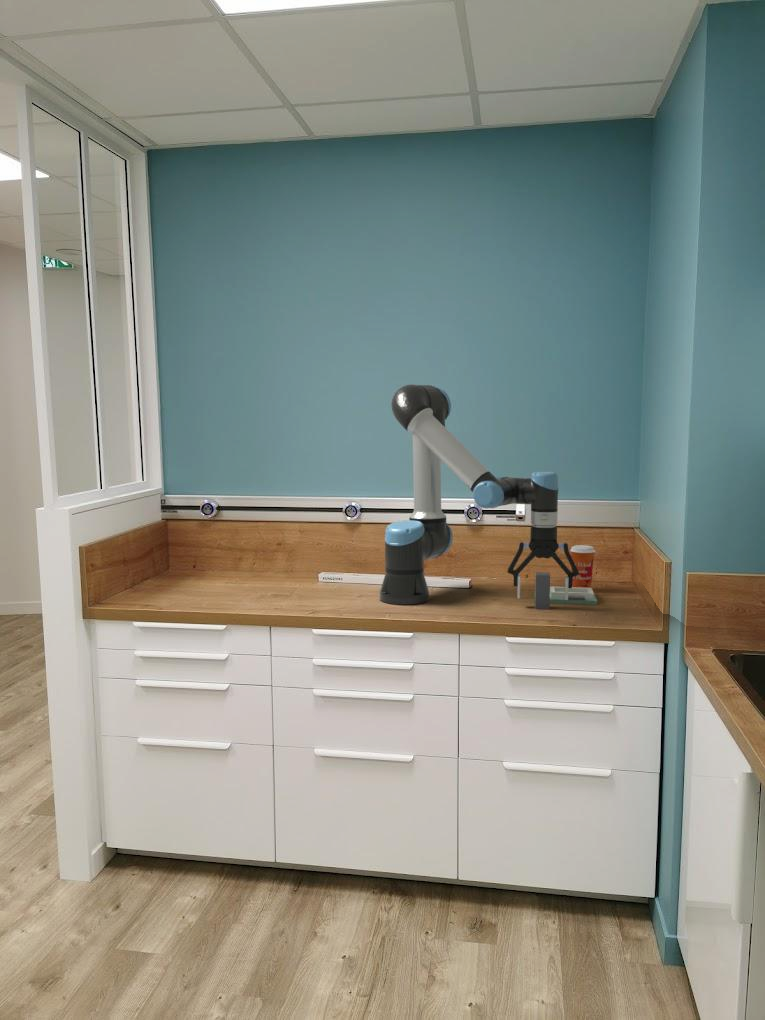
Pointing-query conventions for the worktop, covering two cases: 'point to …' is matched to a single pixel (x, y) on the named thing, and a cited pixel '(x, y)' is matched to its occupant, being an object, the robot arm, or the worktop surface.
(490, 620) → the worktop surface
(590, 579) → the paper cup
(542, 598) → the plug
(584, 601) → the board
